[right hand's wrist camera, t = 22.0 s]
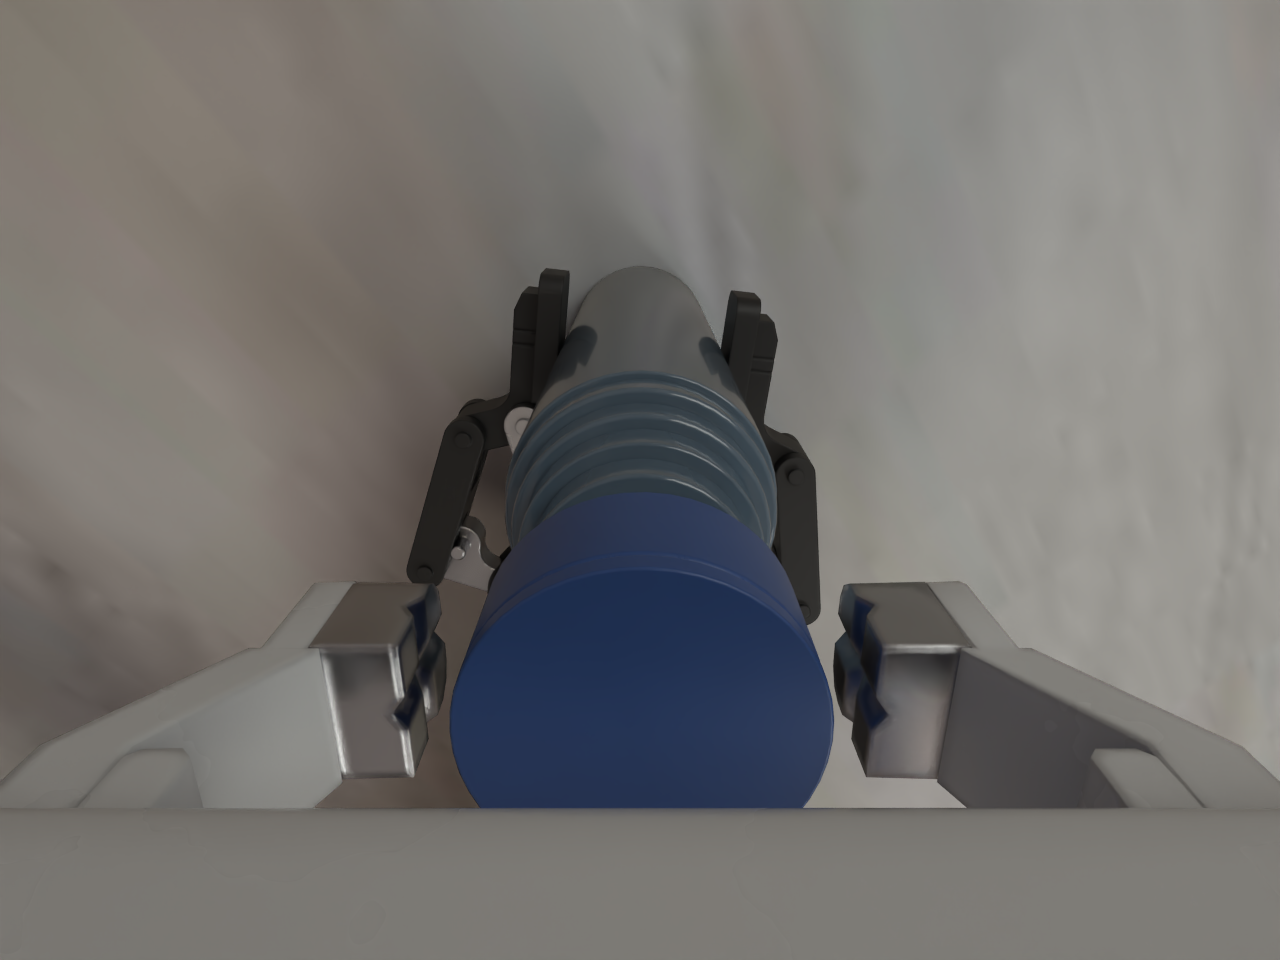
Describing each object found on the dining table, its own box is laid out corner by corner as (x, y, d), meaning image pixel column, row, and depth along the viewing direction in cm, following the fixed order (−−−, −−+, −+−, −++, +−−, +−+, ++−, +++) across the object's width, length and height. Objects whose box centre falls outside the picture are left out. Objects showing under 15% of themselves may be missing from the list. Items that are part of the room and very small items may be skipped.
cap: (781, 763, 11) (812, 884, 9) (490, 756, 11) (460, 876, 9) (815, 494, 9) (859, 573, 7) (476, 484, 9) (435, 562, 7)
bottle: (617, 240, 28) (554, 414, 7) (729, 310, 29) (953, 638, 8) (553, 354, 30) (350, 763, 9) (661, 417, 31) (707, 919, 10)
